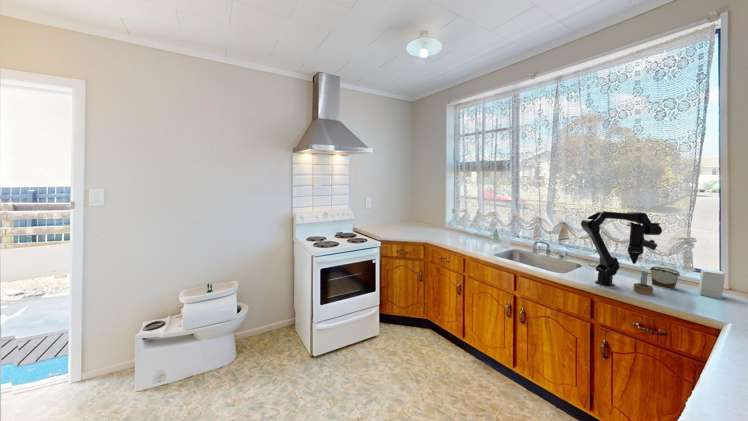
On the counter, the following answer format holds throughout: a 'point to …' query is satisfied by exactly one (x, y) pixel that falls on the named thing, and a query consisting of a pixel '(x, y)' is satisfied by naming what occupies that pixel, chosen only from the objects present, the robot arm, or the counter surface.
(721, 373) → the counter surface
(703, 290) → the supplement box
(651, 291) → the brown octagonal ring
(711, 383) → the counter surface
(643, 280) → the teal-capped metal tube
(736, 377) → the counter surface
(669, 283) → the food container
